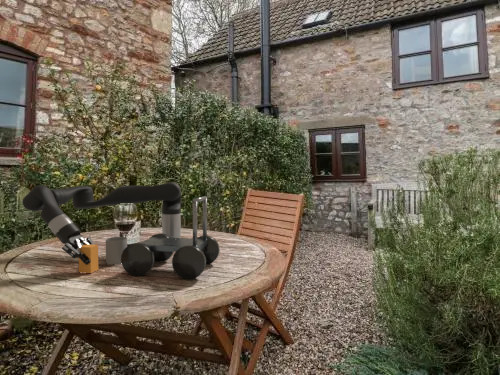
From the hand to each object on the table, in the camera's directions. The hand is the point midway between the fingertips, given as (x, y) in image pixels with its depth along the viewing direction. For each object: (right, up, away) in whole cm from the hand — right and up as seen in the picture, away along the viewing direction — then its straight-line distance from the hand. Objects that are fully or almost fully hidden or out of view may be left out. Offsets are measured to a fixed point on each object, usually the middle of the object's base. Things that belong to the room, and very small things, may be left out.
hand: (93, 261), depth 123 cm
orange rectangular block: (-2, -4, +1) cm, 5 cm away
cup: (+3, -4, +14) cm, 15 cm away
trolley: (+30, -4, +5) cm, 30 cm away
